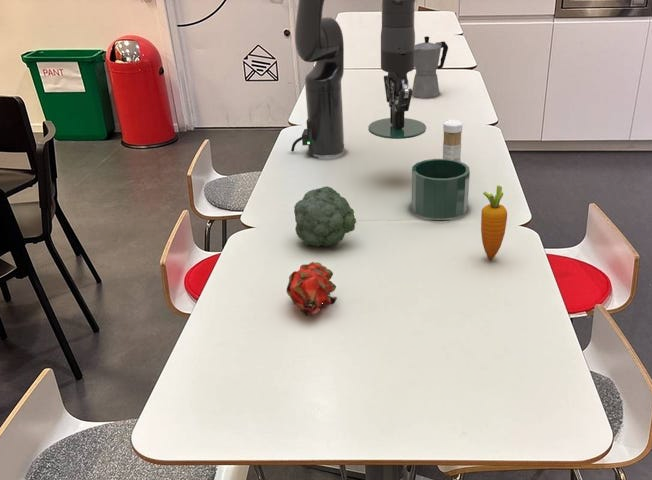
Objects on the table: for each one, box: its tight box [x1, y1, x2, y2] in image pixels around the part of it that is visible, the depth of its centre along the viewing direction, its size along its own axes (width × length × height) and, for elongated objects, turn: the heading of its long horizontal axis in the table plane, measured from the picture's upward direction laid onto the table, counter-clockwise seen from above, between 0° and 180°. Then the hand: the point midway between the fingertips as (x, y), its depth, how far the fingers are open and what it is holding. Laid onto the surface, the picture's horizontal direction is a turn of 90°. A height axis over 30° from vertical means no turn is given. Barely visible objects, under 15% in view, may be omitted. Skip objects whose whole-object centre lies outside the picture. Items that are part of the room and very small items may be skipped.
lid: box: [367, 104, 427, 140], centre depth 164 cm, size 14×14×6 cm
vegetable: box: [293, 185, 357, 248], centre depth 146 cm, size 12×13×15 cm
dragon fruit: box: [286, 261, 338, 317], centre depth 125 cm, size 8×8×12 cm
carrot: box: [480, 185, 508, 261], centre depth 136 cm, size 5×5×15 cm
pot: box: [411, 158, 471, 222], centre depth 157 cm, size 13×13×10 cm
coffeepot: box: [411, 36, 449, 99], centre depth 230 cm, size 15×9×18 cm, turn 125°
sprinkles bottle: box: [442, 119, 463, 162], centre depth 172 cm, size 5×5×14 cm
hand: (397, 125), depth 165 cm, fingers closed on lid, 2 cm apart
